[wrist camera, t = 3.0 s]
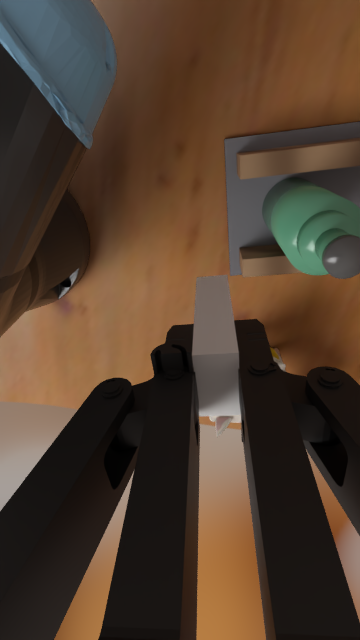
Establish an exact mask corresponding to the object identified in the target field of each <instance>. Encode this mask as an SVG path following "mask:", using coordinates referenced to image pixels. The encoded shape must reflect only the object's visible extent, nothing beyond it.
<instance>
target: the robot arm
mask: <svg viewBox="0 0 360 640" xmlns="http://www.w3.org/2000/svg"><path fill="white" fill-rule="evenodd" d="M116 71H117V55H116V49H115V46H114V42H113V39H112V36H111V33H110V31H109V29H108V27H107V25H106V23H105V22H104V20H103V18H102V16H101V15H100V13H99V12H98V10H97V9H96V7H95V6H94V4H93V3H92V2H91V0H0V337H1V336H2V335H3V334H4V333H5V332H6V331H7V330H8V329H9V328H10V327H11V326H12V325H13V324H14V323H15V322H16V321H17V320H18V319H19V317H20V316H21V315H22V314H23V313H24V312H26V311H29V310H32V309H35V308H38V307H41V306H44V305H47V304H50V303H52V302H55V301H57V300H58V299H60V298H61V297H63V296H64V295H66V294H67V293H68V292H69V291H70V290H71V289H72V288H73V287H74V285H75V284H76V283H77V282H78V281H79V279H80V278H81V277H82V275H83V273H84V271H85V269H86V266H87V263H88V260H89V253H90V239H89V232H88V228H87V225H86V221H85V219H84V216H83V214H82V212H81V210H80V208H79V206H78V204H77V203H76V201H75V200H74V198H73V197H72V195H71V194H70V193H69V192H68V190H67V187H68V185H69V183H70V181H71V179H72V177H73V175H74V173H75V171H76V169H77V167H78V165H79V163H80V161H81V159H82V157H83V155H84V153H85V151H86V149H87V148H88V149H90V148H91V146H92V144H93V136H92V134H93V131H94V129H95V126H96V124H97V122H98V119H99V117H100V115H101V112H102V110H103V108H104V105H105V103H106V101H107V98H108V96H109V94H110V91H111V89H112V87H113V84H114V81H115V77H116ZM151 360H152V365H153V370H154V377H153V378H152V379H150V380H148V381H146V382H143V383H140V384H137V385H133V386H132V385H131V383H130V382H129V381H128V380H127V379H124V378H112V379H108V380H105V381H103V382H102V383H100V384H99V385H98V386H96V387H95V388H94V390H93V391H92V392H91V394H90V395H89V396H88V397H87V399H86V400H85V401H84V403H83V404H82V405H81V407H80V408H79V409H78V411H77V412H76V413H75V415H74V416H73V417H72V418H71V420H70V421H69V422H68V424H67V425H66V426H65V428H64V429H63V430H62V431H61V433H60V434H59V435H58V437H57V438H56V439H55V441H54V442H53V443H52V445H51V446H50V447H49V448H48V450H47V451H46V452H45V454H44V455H43V456H42V458H41V459H40V460H39V462H38V463H37V464H36V466H35V467H34V468H33V470H32V471H31V472H30V473H29V475H28V476H27V477H26V479H25V480H24V481H23V483H22V484H21V485H20V487H19V488H18V489H17V490H16V492H15V493H14V495H13V496H12V497H11V498H10V499H9V501H8V502H7V503H6V505H5V506H4V507H3V509H2V510H1V511H0V640H54V638H55V636H56V634H57V632H58V630H59V628H60V625H61V623H62V621H63V619H64V617H65V615H66V613H67V610H68V608H69V606H70V604H71V602H72V600H73V598H74V596H75V594H76V592H77V589H78V587H79V585H80V583H81V581H82V579H83V577H84V575H85V573H86V570H87V568H88V566H89V564H90V562H91V560H92V558H93V556H94V554H95V552H96V549H97V547H98V545H99V543H100V541H101V539H102V537H103V534H104V533H105V530H106V528H107V526H108V524H109V522H110V520H111V518H112V516H113V514H114V511H115V509H116V507H117V505H118V503H119V501H120V499H121V497H122V495H123V492H124V490H125V488H126V486H127V484H128V482H129V480H130V478H131V476H132V473H133V471H134V475H133V480H132V485H131V489H130V494H129V499H128V504H127V509H126V514H125V519H124V523H123V528H122V533H121V538H120V543H119V548H118V552H117V557H116V562H115V567H114V572H113V576H112V581H111V586H110V591H109V595H108V600H107V605H106V611H105V615H104V620H103V624H102V629H101V633H100V636H99V639H98V640H196V628H197V567H198V566H197V565H198V562H197V561H198V508H199V446H200V443H199V442H200V425H199V416H223V415H241V430H242V442H243V444H244V453H245V462H246V471H247V479H248V488H249V495H250V505H251V513H252V522H253V530H254V539H255V548H256V556H257V564H258V573H259V582H260V590H261V599H262V607H263V616H264V625H265V633H266V640H360V622H359V619H358V616H357V612H356V609H355V606H354V603H353V599H352V596H351V593H350V590H349V587H348V583H347V580H346V577H345V574H344V571H343V567H342V564H341V561H340V558H339V555H338V551H337V548H336V545H335V542H334V538H333V535H332V532H331V529H330V526H329V522H328V519H327V516H326V513H325V509H324V506H323V503H322V500H321V497H320V493H319V490H318V487H317V484H316V480H315V477H314V474H313V471H312V468H311V464H310V461H309V458H308V455H307V452H306V449H307V451H308V453H309V455H310V456H311V458H312V459H313V461H314V463H315V464H316V466H317V467H318V469H319V471H320V472H321V474H322V476H323V477H324V479H325V480H326V482H327V483H328V485H329V487H330V489H331V490H332V492H333V493H334V495H335V497H336V498H337V500H338V502H339V503H340V505H341V506H342V508H343V509H344V511H345V513H346V514H347V516H348V518H349V519H350V521H351V523H352V524H353V526H354V527H355V529H356V531H357V532H358V534H359V535H360V385H359V384H358V383H357V382H356V381H355V380H354V379H353V378H352V377H351V376H350V375H348V374H347V373H346V372H344V371H342V370H340V369H337V368H333V367H317V368H315V369H312V370H311V371H310V372H309V373H308V374H307V377H305V376H299V375H294V374H290V373H287V372H285V371H283V370H282V369H281V368H280V366H279V365H278V363H276V362H275V361H274V359H273V356H272V352H271V349H270V345H269V342H268V340H267V335H266V332H265V329H264V325H263V324H262V323H260V322H259V321H258V320H257V319H250V320H235V321H234V317H233V311H232V304H231V297H230V291H229V284H228V277H227V275H220V276H208V277H197V282H196V298H195V314H194V324H187V325H173V326H172V327H171V329H170V330H169V331H168V332H167V337H166V342H165V344H162V345H160V346H158V347H156V348H155V349H154V350H153V351H152V353H151ZM134 469H135V470H134Z"/></svg>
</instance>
